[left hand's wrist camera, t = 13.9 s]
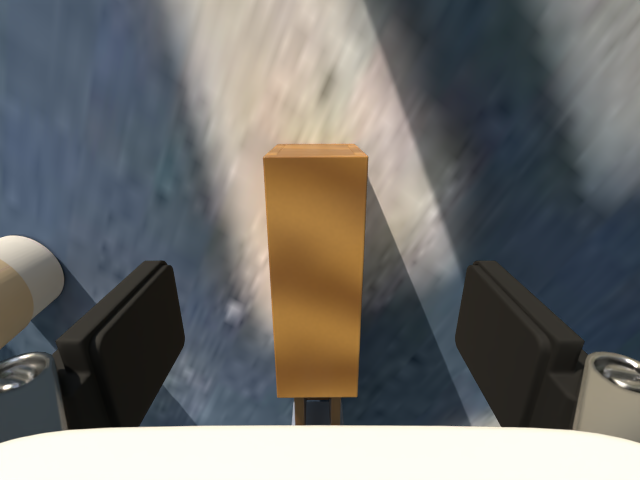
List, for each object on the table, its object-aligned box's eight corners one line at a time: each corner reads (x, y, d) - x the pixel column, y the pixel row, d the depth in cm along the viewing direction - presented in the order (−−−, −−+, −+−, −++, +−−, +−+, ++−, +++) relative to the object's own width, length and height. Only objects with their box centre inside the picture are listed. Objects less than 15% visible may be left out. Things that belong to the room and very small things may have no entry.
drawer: (340, 448, 38) (344, 507, 33) (295, 448, 38) (291, 507, 33) (345, 258, 30) (351, 293, 25) (288, 259, 30) (281, 293, 24)
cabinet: (348, 335, 34) (357, 397, 27) (285, 336, 34) (277, 398, 27) (354, 143, 28) (368, 156, 20) (277, 144, 28) (262, 156, 20)
